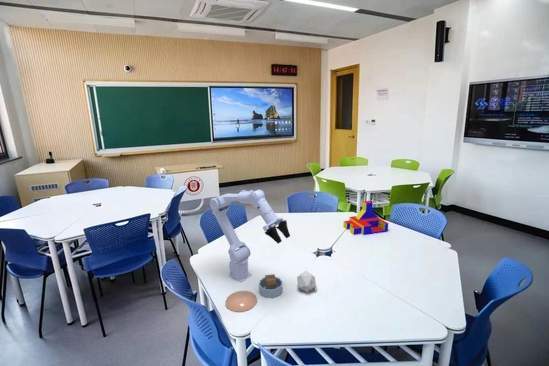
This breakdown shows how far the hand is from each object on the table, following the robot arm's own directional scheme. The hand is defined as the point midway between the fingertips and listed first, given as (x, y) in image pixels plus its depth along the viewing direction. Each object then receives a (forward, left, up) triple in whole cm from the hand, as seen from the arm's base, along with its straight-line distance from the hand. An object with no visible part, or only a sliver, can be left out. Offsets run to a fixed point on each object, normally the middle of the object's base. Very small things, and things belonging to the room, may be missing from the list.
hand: (284, 239), depth 124 cm
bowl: (-8, -1, -28) cm, 29 cm away
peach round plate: (-14, -15, -28) cm, 35 cm away
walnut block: (-8, -1, -28) cm, 29 cm away
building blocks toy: (+3, +94, -29) cm, 99 cm away
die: (+5, +10, -28) cm, 31 cm away
